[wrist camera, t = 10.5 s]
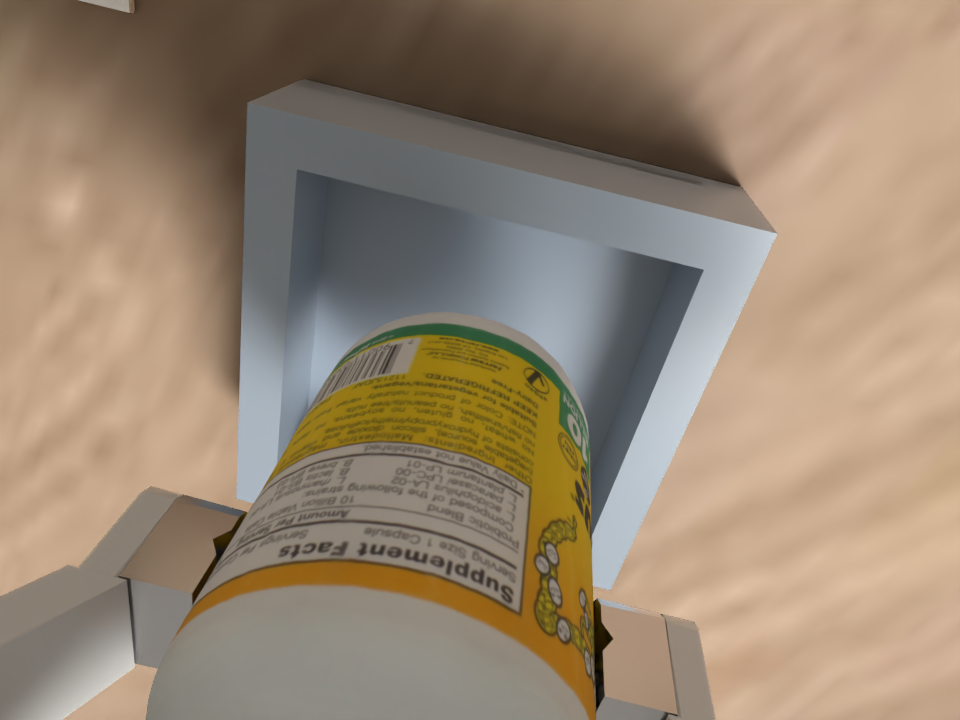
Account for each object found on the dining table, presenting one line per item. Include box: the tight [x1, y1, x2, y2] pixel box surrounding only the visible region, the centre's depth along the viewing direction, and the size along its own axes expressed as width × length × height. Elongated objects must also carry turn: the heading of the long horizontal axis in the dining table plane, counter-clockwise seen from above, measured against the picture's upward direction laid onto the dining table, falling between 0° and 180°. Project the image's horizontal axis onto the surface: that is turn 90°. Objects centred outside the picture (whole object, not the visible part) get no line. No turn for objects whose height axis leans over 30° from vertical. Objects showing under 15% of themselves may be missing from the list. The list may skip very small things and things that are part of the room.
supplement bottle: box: [146, 312, 596, 720], centre depth 10 cm, size 5×5×10 cm
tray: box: [236, 79, 777, 590], centre depth 16 cm, size 10×10×3 cm
